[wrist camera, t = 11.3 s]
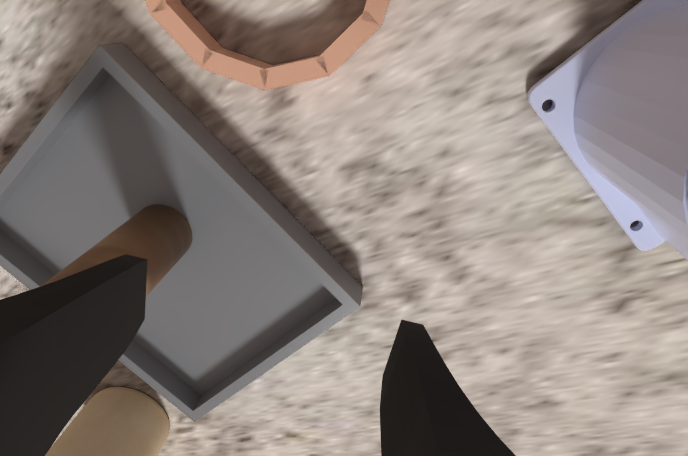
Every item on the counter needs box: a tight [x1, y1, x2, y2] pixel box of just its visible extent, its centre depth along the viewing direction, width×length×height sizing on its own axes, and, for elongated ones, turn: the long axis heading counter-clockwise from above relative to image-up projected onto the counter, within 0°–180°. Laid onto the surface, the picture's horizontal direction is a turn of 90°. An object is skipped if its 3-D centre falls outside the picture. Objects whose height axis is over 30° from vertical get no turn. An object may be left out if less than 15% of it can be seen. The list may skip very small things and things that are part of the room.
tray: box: [0, 43, 363, 422], centre depth 24 cm, size 16×13×2 cm
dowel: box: [41, 204, 192, 296], centre depth 19 cm, size 3×3×9 cm
